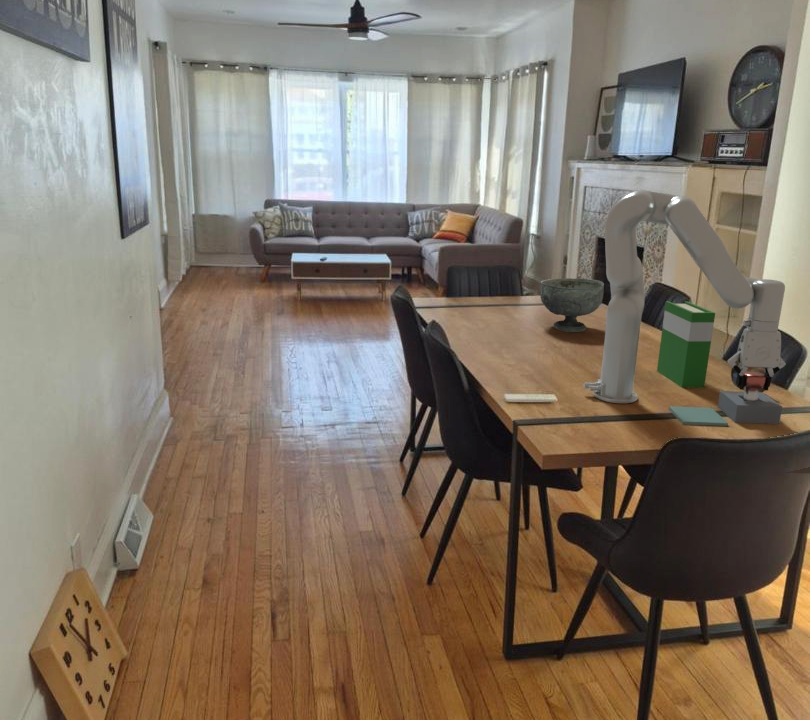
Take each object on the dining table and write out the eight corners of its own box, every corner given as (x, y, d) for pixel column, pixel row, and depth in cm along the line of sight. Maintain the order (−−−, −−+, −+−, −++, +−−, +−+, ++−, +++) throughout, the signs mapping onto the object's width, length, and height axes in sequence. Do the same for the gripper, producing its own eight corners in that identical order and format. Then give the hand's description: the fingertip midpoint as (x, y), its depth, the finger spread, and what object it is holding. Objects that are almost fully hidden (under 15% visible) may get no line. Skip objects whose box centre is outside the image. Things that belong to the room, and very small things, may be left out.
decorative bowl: (608, 336, 281) (612, 286, 276) (544, 335, 281) (547, 286, 277) (593, 323, 307) (596, 277, 302) (534, 323, 307) (536, 277, 302)
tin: (728, 382, 227) (732, 357, 225) (737, 382, 228) (741, 357, 225) (757, 397, 213) (762, 371, 210) (767, 397, 213) (771, 371, 211)
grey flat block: (734, 422, 192) (737, 405, 191) (717, 407, 203) (720, 390, 202) (779, 423, 192) (782, 406, 190) (759, 408, 203) (762, 392, 202)
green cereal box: (656, 371, 238) (665, 301, 231) (677, 370, 238) (687, 301, 232) (681, 387, 221) (692, 312, 214) (704, 387, 221) (715, 312, 215)
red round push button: (741, 418, 195) (748, 377, 191) (732, 411, 200) (738, 371, 197) (763, 419, 195) (770, 378, 191) (753, 412, 200) (760, 371, 197)
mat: (682, 424, 190) (683, 421, 189) (668, 408, 201) (669, 406, 201) (727, 425, 189) (728, 423, 189) (711, 410, 201) (711, 407, 200)
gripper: (736, 327, 187) (725, 391, 192) (802, 329, 186) (790, 394, 191) (724, 321, 194) (715, 383, 199) (788, 323, 194) (777, 385, 199)
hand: (752, 388), depth 195 cm, fingers closed on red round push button, 6 cm apart
